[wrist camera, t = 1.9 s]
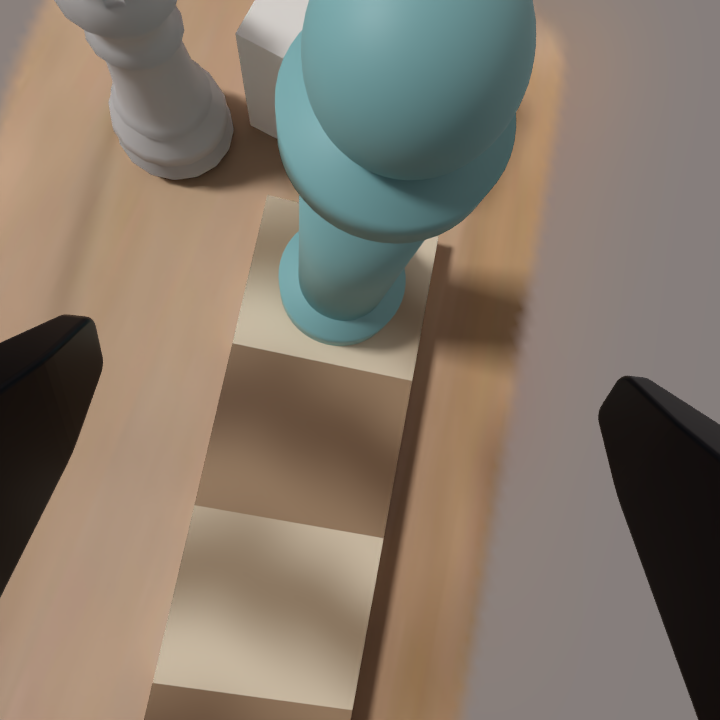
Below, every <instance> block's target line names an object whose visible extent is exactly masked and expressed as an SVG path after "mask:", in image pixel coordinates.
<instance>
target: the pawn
mask: <svg viewBox="0 0 720 720" xmlns="http://www.w3.org/2000/svg"><path fill="white" fill-rule="evenodd" d="M535 48H536V19H535V12H534V6H533V0H309V2H308V6H307V9H306V13H305V18H304V23H303V29H302V31H301V32H300V33H299V34H298V35H297V37H296V38H295V39H294V41H293V42H292V44H291V45H290V47H289V49H288V50H287V52H286V54H285V56H284V58H283V61H282V64H281V66H280V69H279V72H278V77H277V82H276V88H275V113H276V127H277V139H278V148H279V152H280V156H281V160H282V163H283V165H284V168H285V171H286V173H287V175H288V177H289V179H290V181H291V183H292V185H293V186H294V188H295V189H296V191H297V192H298V193H299V231H298V232H297V233H296V234H295V235H294V236H293V237H292V239H291V240H290V241H289V243H288V244H287V246H286V248H285V250H284V252H283V254H282V257H281V260H280V265H279V287H280V295H281V300H282V304H283V306H284V309H285V311H286V313H287V315H288V317H289V318H290V320H291V321H292V323H293V324H294V325H295V326H296V327H297V328H298V329H299V330H300V331H301V332H302V333H304V334H305V335H306V336H308V337H310V338H311V339H313V340H315V341H318V342H320V343H323V344H327V345H333V346H348V345H353V344H358V343H360V342H363V341H365V340H367V339H369V338H371V337H372V336H374V335H375V334H377V333H378V332H379V331H380V330H381V329H382V328H383V327H384V326H385V325H386V324H387V323H388V322H389V321H390V320H391V318H392V317H393V316H394V315H395V313H396V312H397V310H398V308H399V306H400V304H401V302H402V299H403V296H404V292H405V285H406V275H405V267H406V265H407V264H408V263H409V261H410V260H411V258H412V257H413V256H414V254H415V253H416V252H417V250H418V249H419V247H420V246H421V245H422V243H423V242H424V241H425V240H426V239H429V238H432V237H435V236H438V235H440V234H442V233H444V232H446V231H448V230H450V229H451V228H453V227H454V226H456V225H457V224H459V223H460V222H462V221H463V220H464V219H465V218H466V217H467V216H468V215H469V214H470V213H471V212H472V211H473V210H474V209H475V208H476V206H477V205H478V204H479V203H480V202H481V201H482V199H483V198H484V197H485V196H486V195H487V194H488V192H489V191H490V190H491V189H492V188H493V186H494V185H495V184H496V183H497V181H498V180H499V178H500V177H501V175H502V173H503V172H504V170H505V168H506V166H507V163H508V161H509V158H510V156H511V153H512V149H513V145H514V141H515V132H516V111H517V109H518V108H519V106H520V103H521V101H522V99H523V96H524V94H525V91H526V89H527V86H528V83H529V80H530V76H531V72H532V68H533V62H534V56H535Z"/></svg>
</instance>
